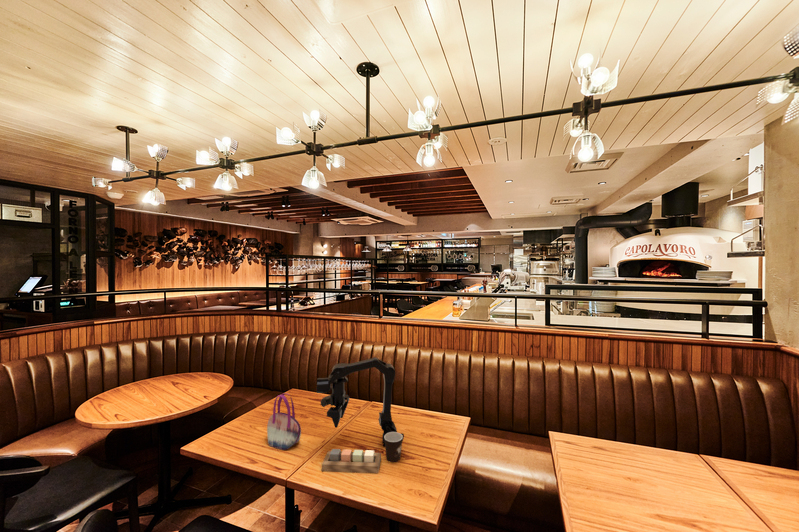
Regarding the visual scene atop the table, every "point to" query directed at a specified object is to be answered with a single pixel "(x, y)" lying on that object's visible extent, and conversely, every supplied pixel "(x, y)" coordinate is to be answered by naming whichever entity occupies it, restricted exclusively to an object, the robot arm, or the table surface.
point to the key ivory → (369, 456)
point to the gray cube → (335, 455)
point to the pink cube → (346, 455)
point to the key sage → (358, 456)
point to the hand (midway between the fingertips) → (338, 422)
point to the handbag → (283, 426)
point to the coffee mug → (393, 446)
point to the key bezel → (352, 465)
